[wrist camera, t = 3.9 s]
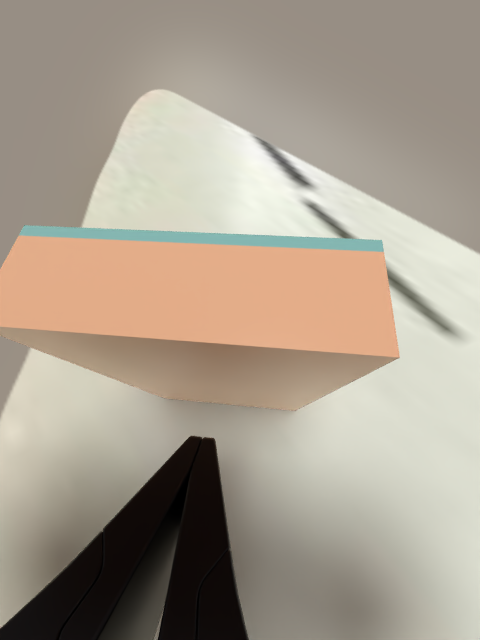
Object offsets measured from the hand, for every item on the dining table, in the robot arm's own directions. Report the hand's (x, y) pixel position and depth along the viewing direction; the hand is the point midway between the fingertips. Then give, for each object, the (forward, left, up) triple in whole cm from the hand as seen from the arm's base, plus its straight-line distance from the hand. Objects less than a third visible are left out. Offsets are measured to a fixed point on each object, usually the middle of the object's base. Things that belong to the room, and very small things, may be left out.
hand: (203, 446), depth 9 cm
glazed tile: (+2, +3, -7) cm, 8 cm away
